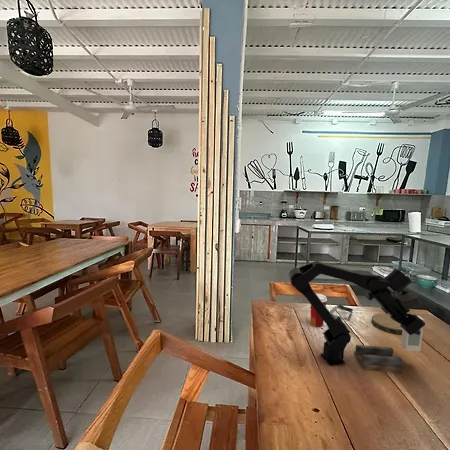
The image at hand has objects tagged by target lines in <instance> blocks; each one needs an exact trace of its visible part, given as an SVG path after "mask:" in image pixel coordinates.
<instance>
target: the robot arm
mask: <svg viewBox="0 0 450 450" xmlns="http://www.w3.org/2000/svg"><path fill="white" fill-rule="evenodd" d="M319 275H324V276H328V277H331V278H335V279H339V280H343V281H345V282H349V283H352V284H354V285H356V286H358V287H360V288H362V289H365V290H366V291H365V298H366V299H367V300H368V301H372V300H373V299H374V300H375V301H376V303H378V304H379V306H380V309H381V310H382V311H383V313H384V314H389V315H390V317H391V318H392V319H393V320H394V321H396V322H398V323H400V324H401V327H402V328H403V329H404V330H405V331H406V332H407V333H408V334H409V335H412V334H417V335H420V334H421V333H420V331H419V329H421V328H422V327H423V328H424V326H426V322H425V320H424V321H423V320H422V319H423V318H422V319H420V318H419V317H418V316H419V315H416V314H412V313H410V311H411V309H413V308H417V307H420V306H421V305H422V303H421V301H420V298H419V296H418V295H417V294H415V293H413V292H411V291H406V290H405V289H406V288H408V286H410V285H412V283H413V282H412V281H413V280H411V279H410V278H409V277H408V276H406V275H405V274H404V273H403V272H401V270H400V269H398V268H396V267H395V268H394V269H393V270H392V271H391V272H390V273H388V274H387V275H386V276H385V277H383V276H381V275H378V274H377V275H376V274H374V273H372V272H371V271H369V270H361V269H358V270H356V269H355V270H352V269H349V268H346V267H345V268H344V267H341V266H337V265H334V264H329V263H326V262H322V261H320V260H314V261H313V262H311V263H308V264H305V265H302V266H300V267H298V268H297V267H296V268H293V269H291V270H289V272H288V279H289V281H290V284H291V286H292V287H293V288H295V290H297V291H298V293H301V294H302V295H303V296H304V297H305V298H306V299H307V301H308V302H309V304H310V306H311V305H312V306H313V307H314V309H315V310H316V311H317V313H318V314H319V315H320V316H321V318H322V319H323V320H324V322H323V323H325V324H326V327H327V329H326V330H325V331H324V332H323V333H322V334H323V337H324V339H325V342H323V349H322V350H323V352H322V353H320V357H321V358H322V359H323V360H324V361H325V362H326V363H327V364H328V365H329V366H337V365H343V364H346V360H344V355H345V353H344V352H345V349H346V347H347V345H348V344H349V343H350V342H351V339H352V335H351V333H352V332H351V331H350V329H349V328H348V326H347V325H346V323H345V322H344V321H343V319H340V317H341V316H340V317H339V315H337V316H338V317H334V316H332V314H333V313H332V314H331V313H330V310H329V309H328V308H327V306H326V307H325V305H324V304H323V303H322V301H321V300H320V299H319V297H318V296H317V295H316V294H317V293H316V292H315V291H314V289H313V288H312V286H311V284H310V282H312V281H313V280H314V279H316V278H317V277H318V276H319ZM389 289H390V290H389ZM391 291H392V292H393V293H395V292H396V293H397V294H398V297H397V296H396V295H394V294H393V293H392V292H391Z"/></svg>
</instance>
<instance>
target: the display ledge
mask: <svg viewBox="0 0 450 450" xmlns="http://www.w3.org/2000/svg"><path fill="white" fill-rule="evenodd" d="M353 354H354V357H355V358H356V360H357V361H358V363H359V365H360V366H361V368H362V369H363V370H366V371H374V372H375V371H376V372H387V373H398V374H399V373H400V374H403V359H402V358H401V357H400V356H394V349H393V347H387V346H378V345H377V346H375V345H365V344H364V345H363V344H362V345H361V344H356V345H355V350H354V353H353Z"/></svg>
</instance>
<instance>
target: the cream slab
mask: <svg viewBox="0 0 450 450" xmlns="http://www.w3.org/2000/svg"><path fill="white" fill-rule="evenodd" d="M417 316H418V317H419V318H420V319H422V320H423V321H424V322H425V319H424V318H423V317H421V316H420V315H417ZM419 331H420V333H421V334H420V335H417V334H412V335H409V334H408V333H407V332H406V331H405V330H404V329H403V331H402V335H401V339H400V346H401V348H402V349H403V350H405V351H410V352H411V351H412V352H421V348H422V340H423V331H424V326H423V327H422V328H421V329H419Z"/></svg>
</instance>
